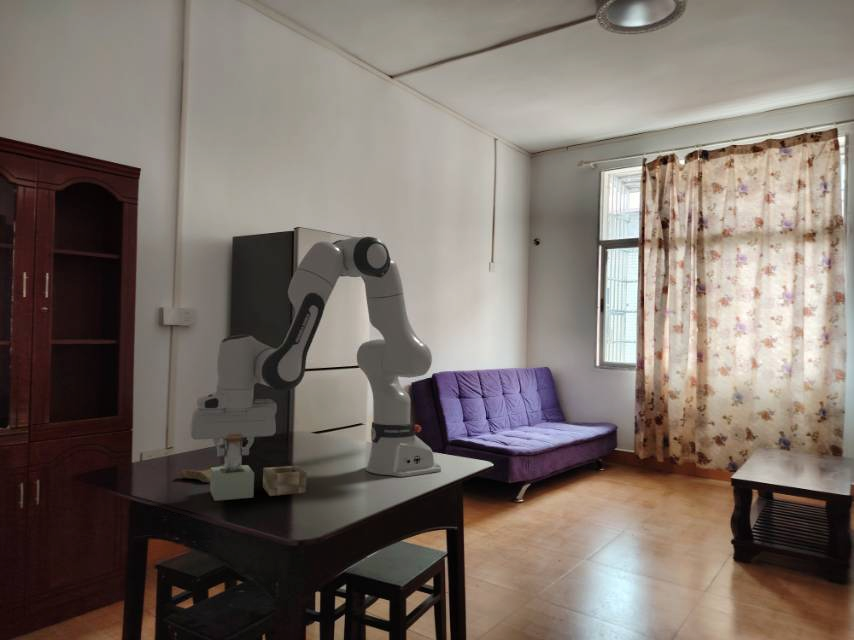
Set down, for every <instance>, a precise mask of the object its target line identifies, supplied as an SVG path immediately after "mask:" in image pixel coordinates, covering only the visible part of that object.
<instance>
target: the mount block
mask: <svg viewBox="0 0 854 640" xmlns="http://www.w3.org/2000/svg"><path fill="white" fill-rule="evenodd" d="M262 470H263V472H262V488H263V489H264V491H265V492H266V493H267V494H268V495H269V496H270V497H272V496H282V495H294V494H295V495H296V494H305V493H306V491H307V472H306V471H305V470H304V469H302V468H301V467H300V466H299V465H289V466H288V465H287V466H273V467H272V466H271V467H263V469H262Z"/></svg>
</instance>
